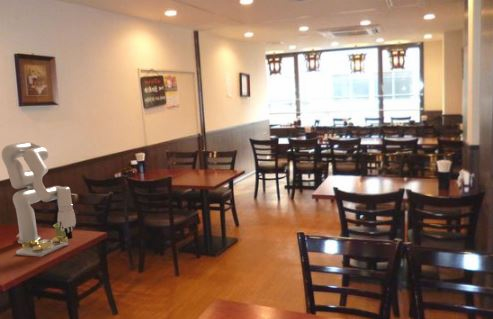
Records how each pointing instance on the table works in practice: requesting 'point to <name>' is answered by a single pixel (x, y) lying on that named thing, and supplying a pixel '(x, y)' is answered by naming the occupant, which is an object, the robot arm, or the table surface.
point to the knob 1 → (42, 245)
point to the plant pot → (59, 233)
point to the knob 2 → (60, 239)
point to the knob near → (29, 243)
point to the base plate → (44, 251)
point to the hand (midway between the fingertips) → (69, 238)
